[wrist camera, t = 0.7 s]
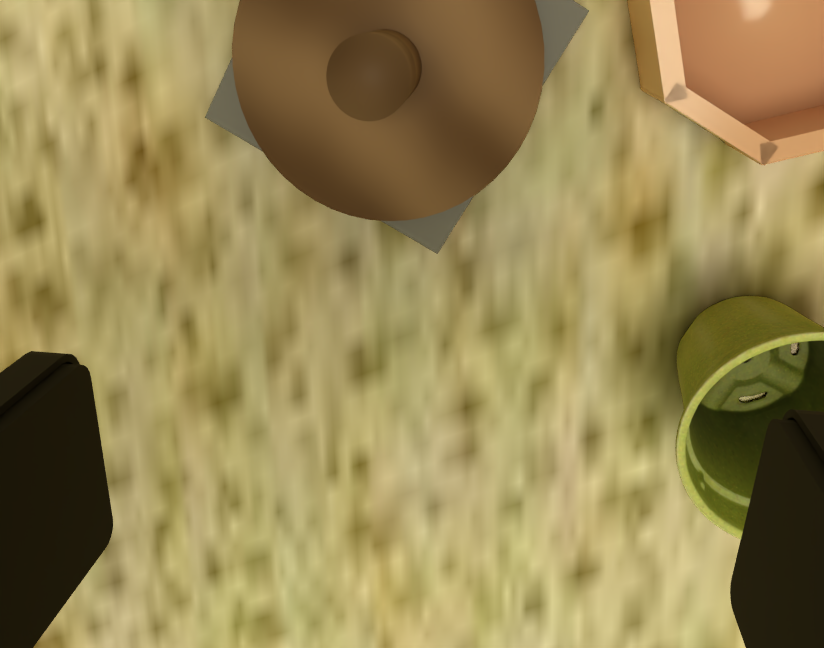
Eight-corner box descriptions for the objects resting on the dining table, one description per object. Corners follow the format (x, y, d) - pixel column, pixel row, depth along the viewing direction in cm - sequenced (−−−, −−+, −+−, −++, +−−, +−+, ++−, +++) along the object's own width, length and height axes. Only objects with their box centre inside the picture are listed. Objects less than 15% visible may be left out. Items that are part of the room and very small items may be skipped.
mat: (438, 247, 37) (437, 254, 36) (212, 114, 36) (204, 117, 35) (586, 10, 33) (589, 10, 32) (333, -152, 31) (329, -157, 30)
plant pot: (667, 460, 40) (711, 574, 32) (615, 297, 37) (649, 377, 29) (859, 409, 38) (957, 516, 30) (821, 232, 35) (918, 299, 27)
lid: (441, 268, 36) (432, 313, 31) (190, 121, 35) (135, 142, 29) (606, 5, 31) (629, 6, 26) (323, -177, 30) (287, -217, 25)
